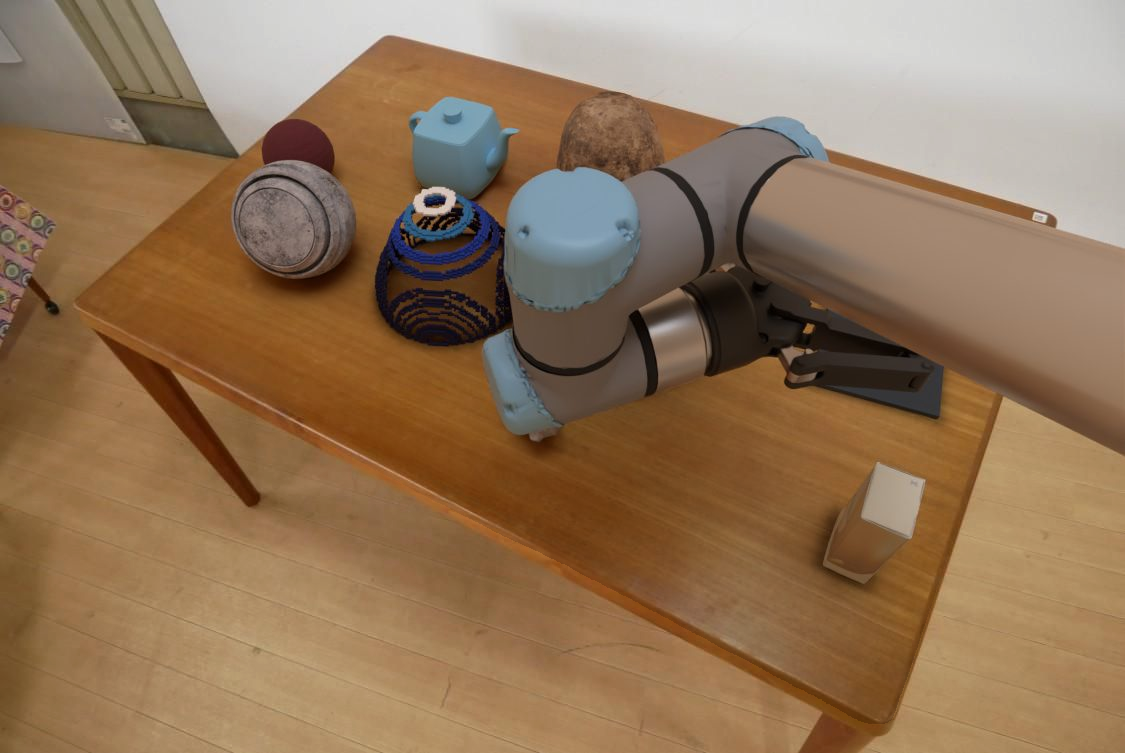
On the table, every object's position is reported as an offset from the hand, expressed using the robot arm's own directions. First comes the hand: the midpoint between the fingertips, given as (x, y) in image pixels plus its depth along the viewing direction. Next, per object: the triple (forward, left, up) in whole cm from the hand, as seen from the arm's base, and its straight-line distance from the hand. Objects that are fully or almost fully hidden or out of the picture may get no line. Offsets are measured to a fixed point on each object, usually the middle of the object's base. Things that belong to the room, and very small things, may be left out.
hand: (927, 258), depth 56 cm
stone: (-10, +31, -27) cm, 42 cm away
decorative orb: (+3, +70, -27) cm, 75 cm away
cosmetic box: (-14, -4, -27) cm, 30 cm away
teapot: (+26, +57, -27) cm, 68 cm away
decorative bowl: (+5, +50, -27) cm, 57 cm away
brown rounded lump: (+29, +36, -27) cm, 54 cm away
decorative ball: (+17, +80, -27) cm, 86 cm away
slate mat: (+15, -4, -26) cm, 31 cm away
